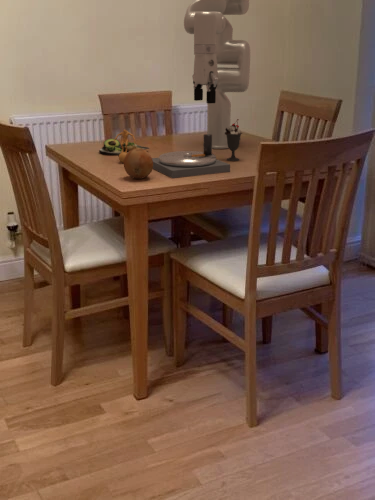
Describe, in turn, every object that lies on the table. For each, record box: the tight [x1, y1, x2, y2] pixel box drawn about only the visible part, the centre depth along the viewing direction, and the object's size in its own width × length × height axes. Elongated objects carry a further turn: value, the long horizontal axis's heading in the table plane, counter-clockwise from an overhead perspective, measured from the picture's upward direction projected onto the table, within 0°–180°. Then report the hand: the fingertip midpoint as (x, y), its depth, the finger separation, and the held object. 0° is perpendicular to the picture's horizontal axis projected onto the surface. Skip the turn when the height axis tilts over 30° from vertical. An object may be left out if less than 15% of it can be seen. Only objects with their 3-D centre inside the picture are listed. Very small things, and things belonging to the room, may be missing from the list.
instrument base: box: [152, 157, 231, 179], centre depth 227 cm, size 22×22×3 cm
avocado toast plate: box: [98, 138, 150, 156], centre depth 256 cm, size 19×18×5 cm
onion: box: [123, 148, 154, 180], centre depth 212 cm, size 10×10×10 cm
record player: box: [158, 133, 217, 167], centre depth 225 cm, size 20×20×8 cm
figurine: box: [114, 129, 137, 164], centre depth 235 cm, size 8×6×12 cm
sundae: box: [225, 118, 243, 162], centre depth 239 cm, size 7×7×15 cm
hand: (204, 101), depth 223 cm, fingers open, 9 cm apart
